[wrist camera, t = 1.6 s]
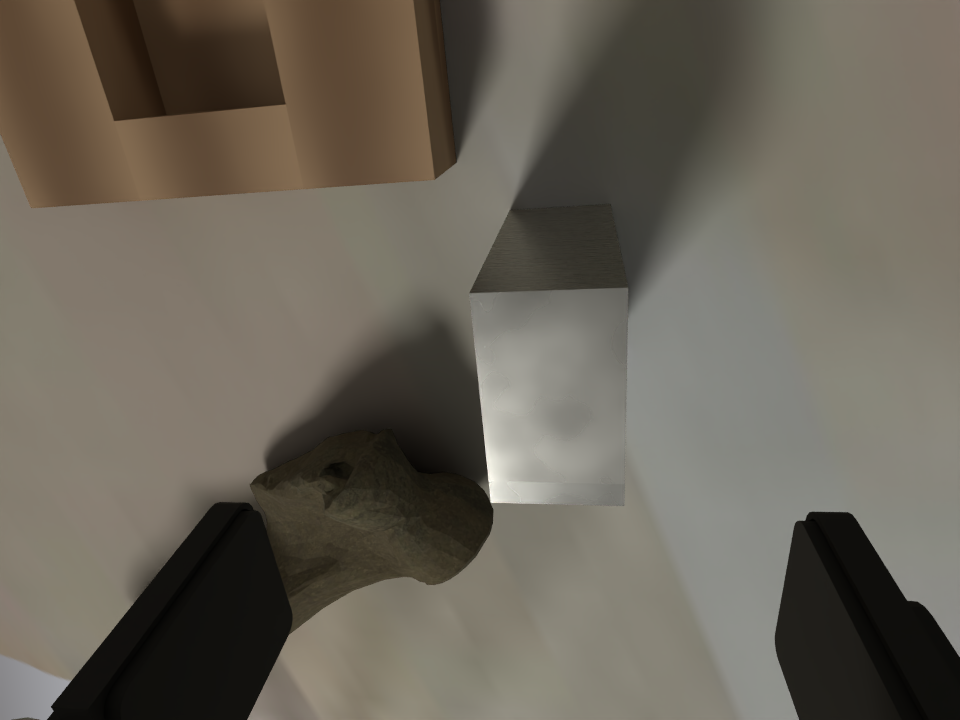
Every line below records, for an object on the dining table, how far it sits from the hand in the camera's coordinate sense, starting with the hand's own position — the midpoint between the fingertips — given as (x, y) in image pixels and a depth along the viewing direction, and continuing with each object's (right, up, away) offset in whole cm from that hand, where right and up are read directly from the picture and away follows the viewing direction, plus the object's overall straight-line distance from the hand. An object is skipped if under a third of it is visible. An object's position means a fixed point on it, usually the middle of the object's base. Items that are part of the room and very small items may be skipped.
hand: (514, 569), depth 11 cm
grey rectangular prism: (+3, +7, +15) cm, 17 cm away
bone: (-12, -9, +25) cm, 30 cm away
